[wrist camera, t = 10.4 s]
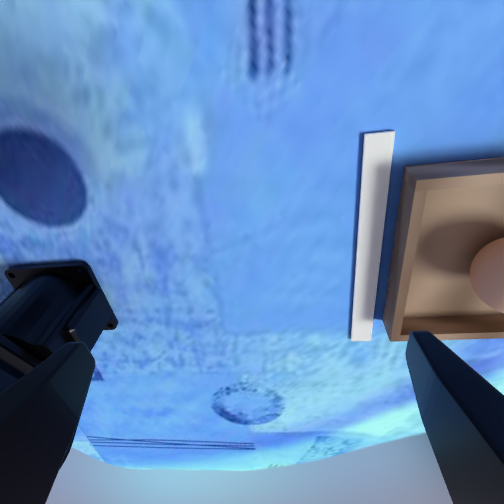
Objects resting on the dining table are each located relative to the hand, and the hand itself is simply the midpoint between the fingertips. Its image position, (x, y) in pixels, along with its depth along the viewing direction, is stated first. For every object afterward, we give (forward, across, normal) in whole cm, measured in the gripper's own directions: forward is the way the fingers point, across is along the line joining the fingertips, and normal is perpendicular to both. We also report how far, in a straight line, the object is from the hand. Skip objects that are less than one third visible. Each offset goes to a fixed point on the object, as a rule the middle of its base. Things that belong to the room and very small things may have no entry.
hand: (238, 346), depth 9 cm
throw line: (+12, -6, +6) cm, 15 cm away
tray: (+12, -14, +6) cm, 19 cm away
